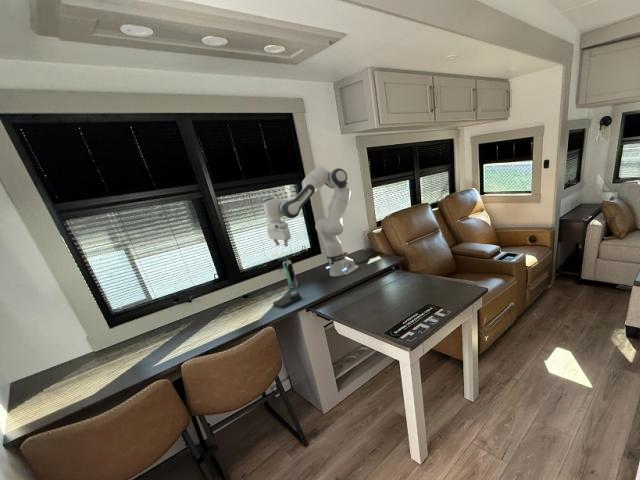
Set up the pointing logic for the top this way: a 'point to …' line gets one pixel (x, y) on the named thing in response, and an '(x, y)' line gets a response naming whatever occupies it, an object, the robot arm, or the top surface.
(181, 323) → the top surface
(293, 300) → the scale
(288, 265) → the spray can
